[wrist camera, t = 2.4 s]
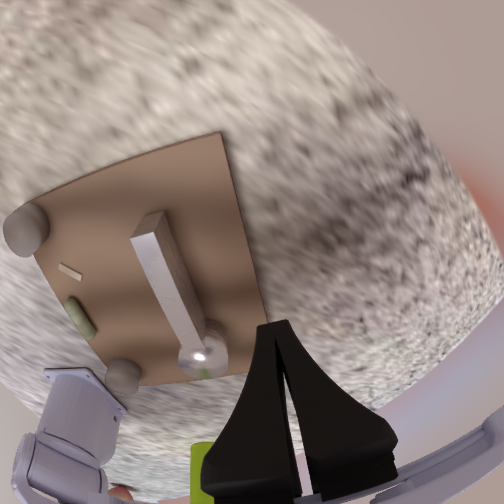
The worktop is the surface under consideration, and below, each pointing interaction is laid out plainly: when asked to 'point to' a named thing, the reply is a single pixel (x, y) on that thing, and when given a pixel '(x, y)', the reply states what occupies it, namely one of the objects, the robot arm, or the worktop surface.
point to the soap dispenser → (198, 473)
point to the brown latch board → (129, 267)
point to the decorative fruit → (121, 493)
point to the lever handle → (180, 299)
